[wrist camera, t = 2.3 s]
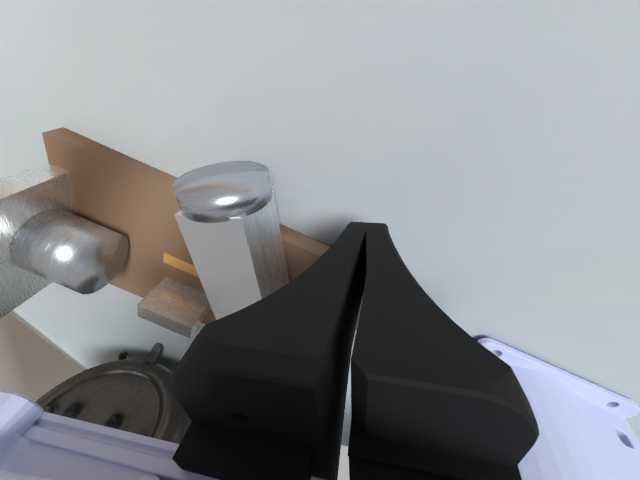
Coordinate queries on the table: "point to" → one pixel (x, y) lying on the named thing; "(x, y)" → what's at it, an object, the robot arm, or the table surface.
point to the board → (146, 215)
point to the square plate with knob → (73, 251)
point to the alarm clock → (123, 398)
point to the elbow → (232, 233)
